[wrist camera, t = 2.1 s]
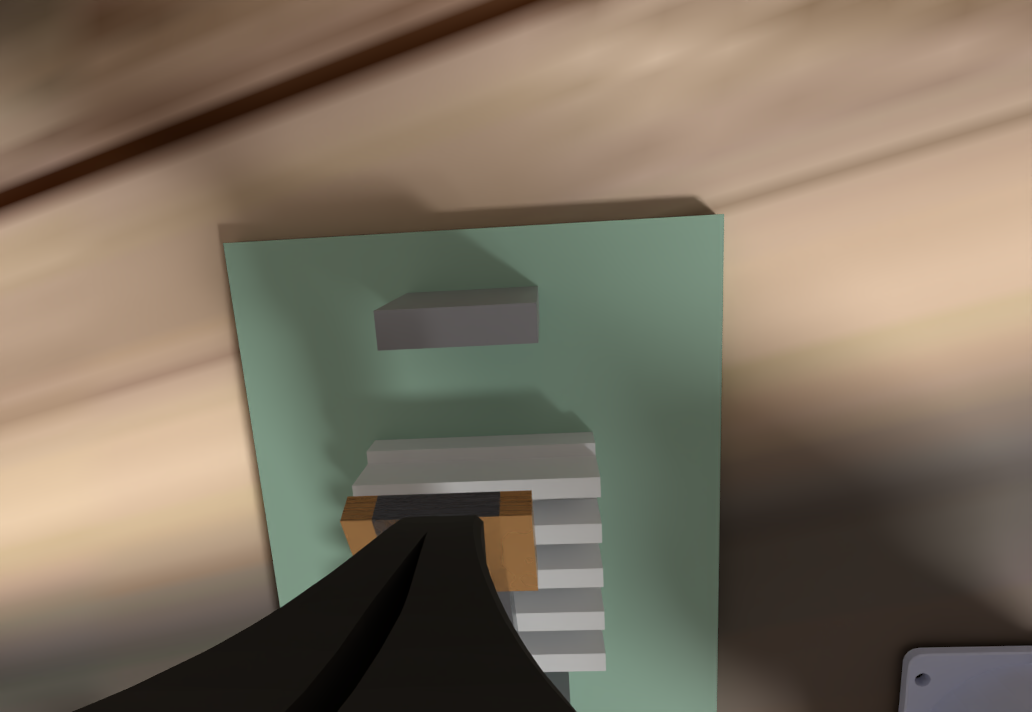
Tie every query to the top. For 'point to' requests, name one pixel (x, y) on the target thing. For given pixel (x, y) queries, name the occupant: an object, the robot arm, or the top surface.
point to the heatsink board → (511, 421)
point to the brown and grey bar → (500, 512)
